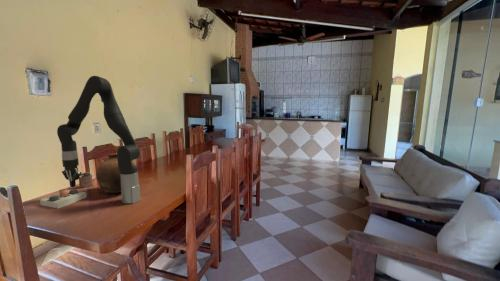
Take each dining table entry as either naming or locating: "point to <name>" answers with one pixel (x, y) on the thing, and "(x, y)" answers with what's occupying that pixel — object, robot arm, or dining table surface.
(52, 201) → the black knob left
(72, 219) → the dining table surface
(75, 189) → the black knob right
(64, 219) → the dining table surface
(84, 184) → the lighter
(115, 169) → the pottery
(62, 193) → the terracotta knob middle
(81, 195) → the control panel
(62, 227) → the dining table surface
